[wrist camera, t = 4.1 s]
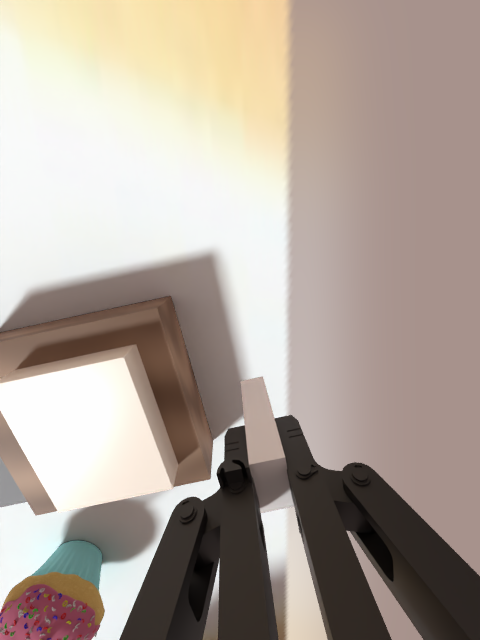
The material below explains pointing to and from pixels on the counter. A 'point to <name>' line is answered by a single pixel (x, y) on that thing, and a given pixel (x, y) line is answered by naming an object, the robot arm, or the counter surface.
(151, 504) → the counter surface
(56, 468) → the cream rectangular block
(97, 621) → the cupcake
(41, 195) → the counter surface
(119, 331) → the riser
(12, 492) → the mat
